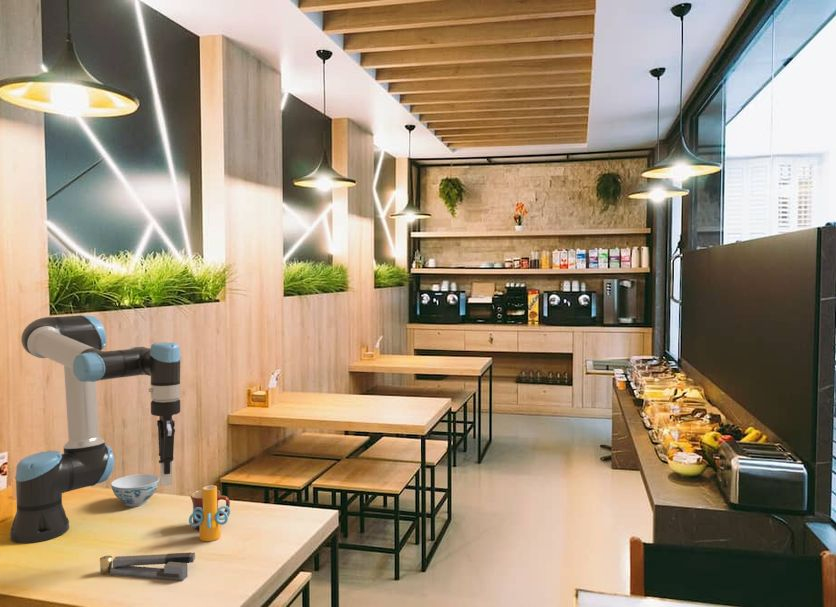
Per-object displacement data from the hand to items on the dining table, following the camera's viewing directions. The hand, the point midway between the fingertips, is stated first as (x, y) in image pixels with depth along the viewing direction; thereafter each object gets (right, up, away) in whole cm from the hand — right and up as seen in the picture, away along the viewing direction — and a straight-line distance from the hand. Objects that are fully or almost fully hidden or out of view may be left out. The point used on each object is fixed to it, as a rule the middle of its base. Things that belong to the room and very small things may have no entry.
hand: (166, 484), depth 173 cm
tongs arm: (0, -18, -8) cm, 20 cm away
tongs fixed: (-1, -20, -11) cm, 23 cm away
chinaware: (-27, -19, +41) cm, 53 cm away
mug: (+5, -19, +21) cm, 29 cm away
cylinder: (+8, -20, +13) cm, 25 cm away
